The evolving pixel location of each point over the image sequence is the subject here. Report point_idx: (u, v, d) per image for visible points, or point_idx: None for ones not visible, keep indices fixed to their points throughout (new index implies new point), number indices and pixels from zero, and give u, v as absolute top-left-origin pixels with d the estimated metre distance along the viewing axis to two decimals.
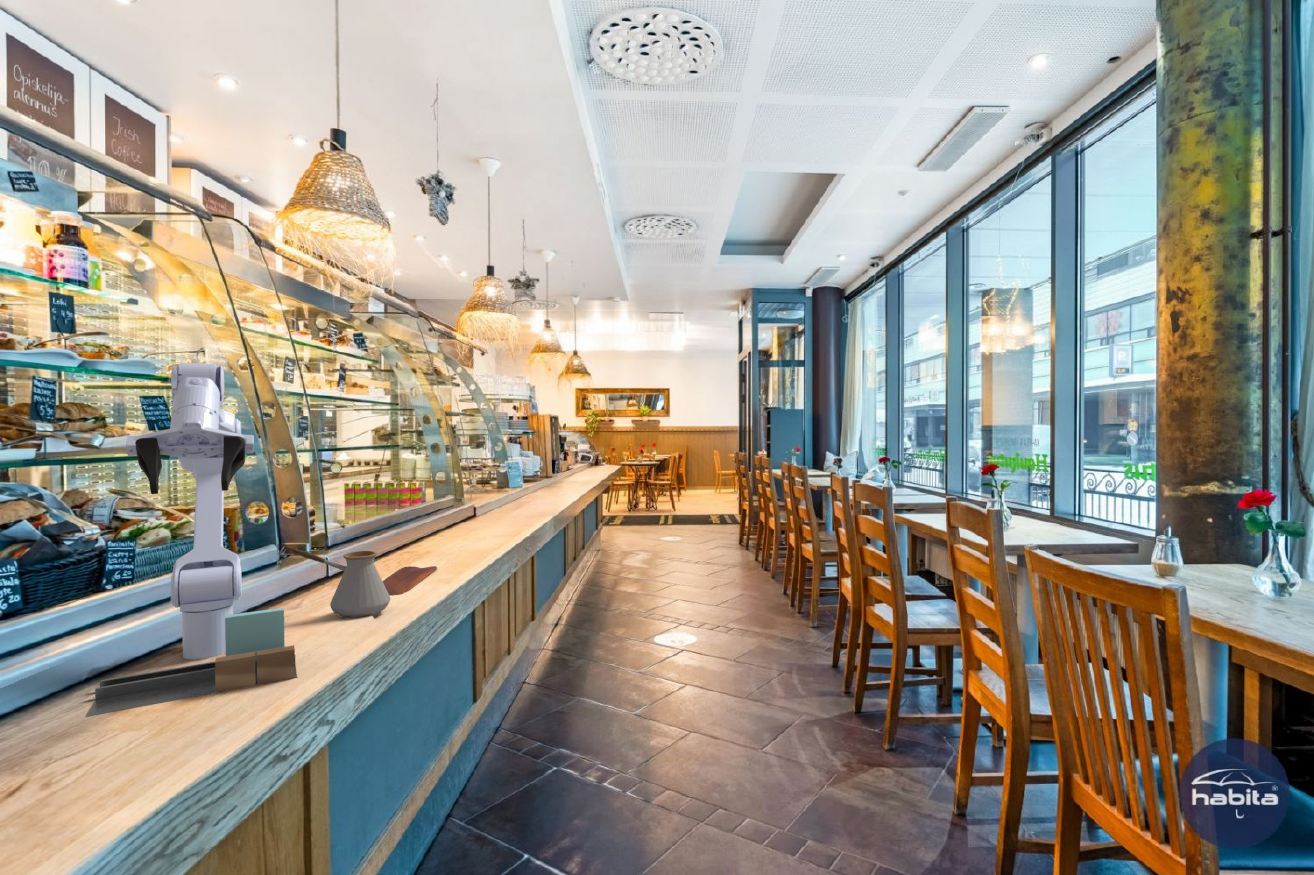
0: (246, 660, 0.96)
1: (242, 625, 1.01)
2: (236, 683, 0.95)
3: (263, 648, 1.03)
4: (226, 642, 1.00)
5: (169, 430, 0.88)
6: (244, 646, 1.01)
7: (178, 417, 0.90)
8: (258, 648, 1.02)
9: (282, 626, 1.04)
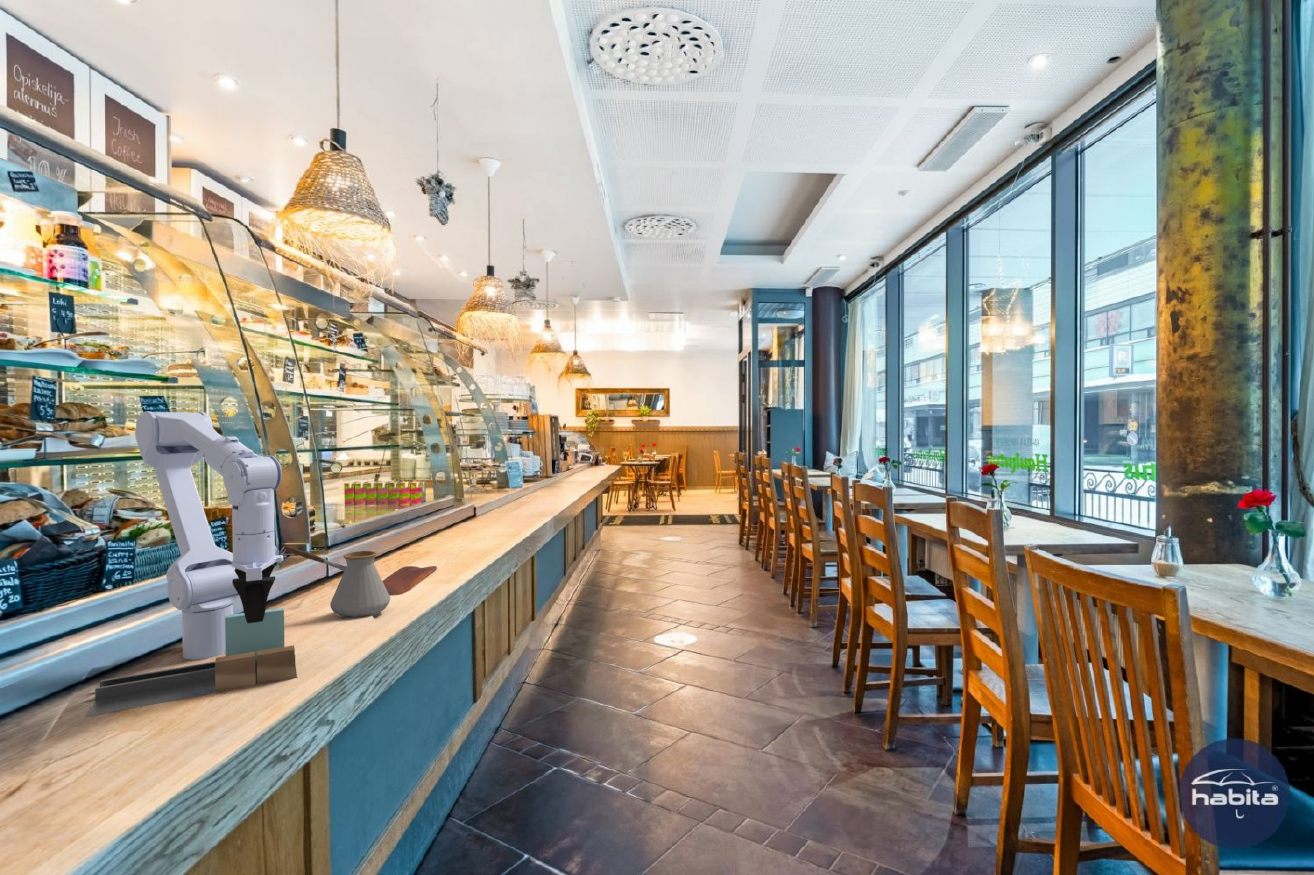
0: (246, 660, 0.96)
1: (242, 625, 1.01)
2: (236, 683, 0.95)
3: (263, 648, 1.03)
4: (226, 642, 1.00)
5: (271, 562, 1.01)
6: (244, 646, 1.01)
7: (270, 544, 1.02)
8: (258, 648, 1.02)
9: (282, 626, 1.04)
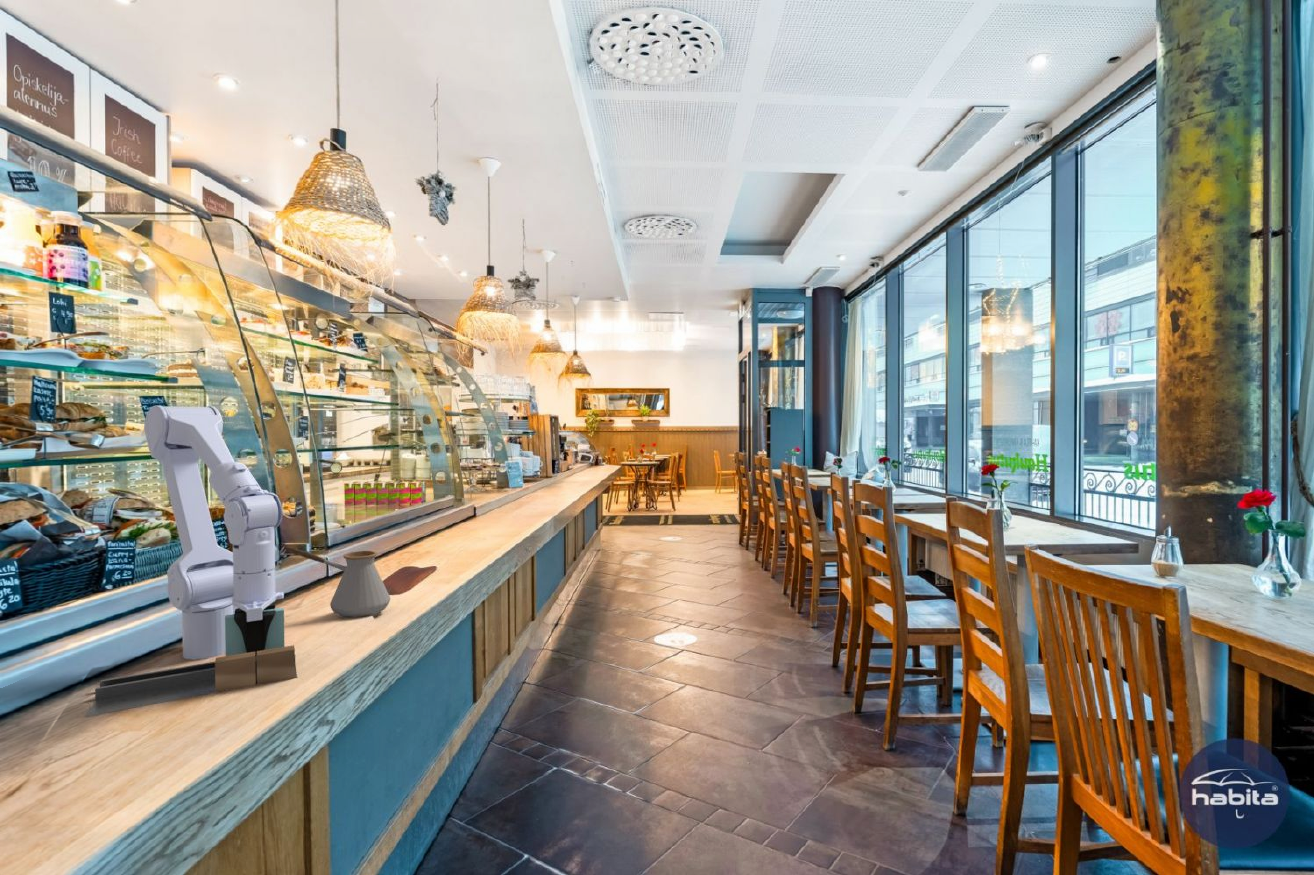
0: (246, 660, 0.96)
1: None
2: (236, 683, 0.95)
3: None
4: (226, 642, 1.00)
5: (271, 600, 1.02)
6: (244, 646, 1.01)
7: (271, 582, 1.02)
8: None
9: (282, 626, 1.04)
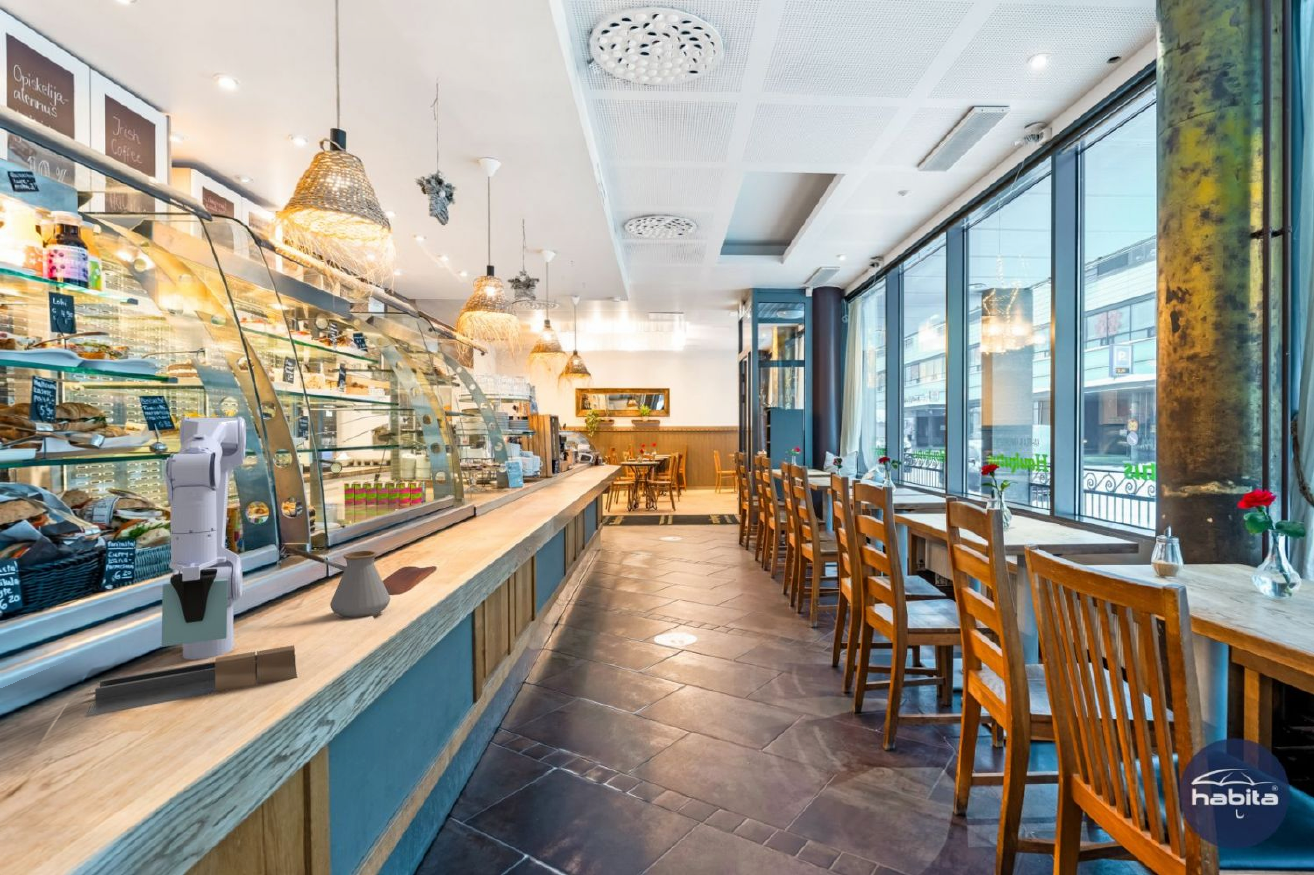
0: (246, 660, 0.96)
1: None
2: (236, 683, 0.95)
3: (203, 620, 0.97)
4: (163, 612, 0.95)
5: (211, 563, 0.97)
6: (183, 617, 0.96)
7: (211, 544, 0.97)
8: None
9: (225, 597, 0.99)
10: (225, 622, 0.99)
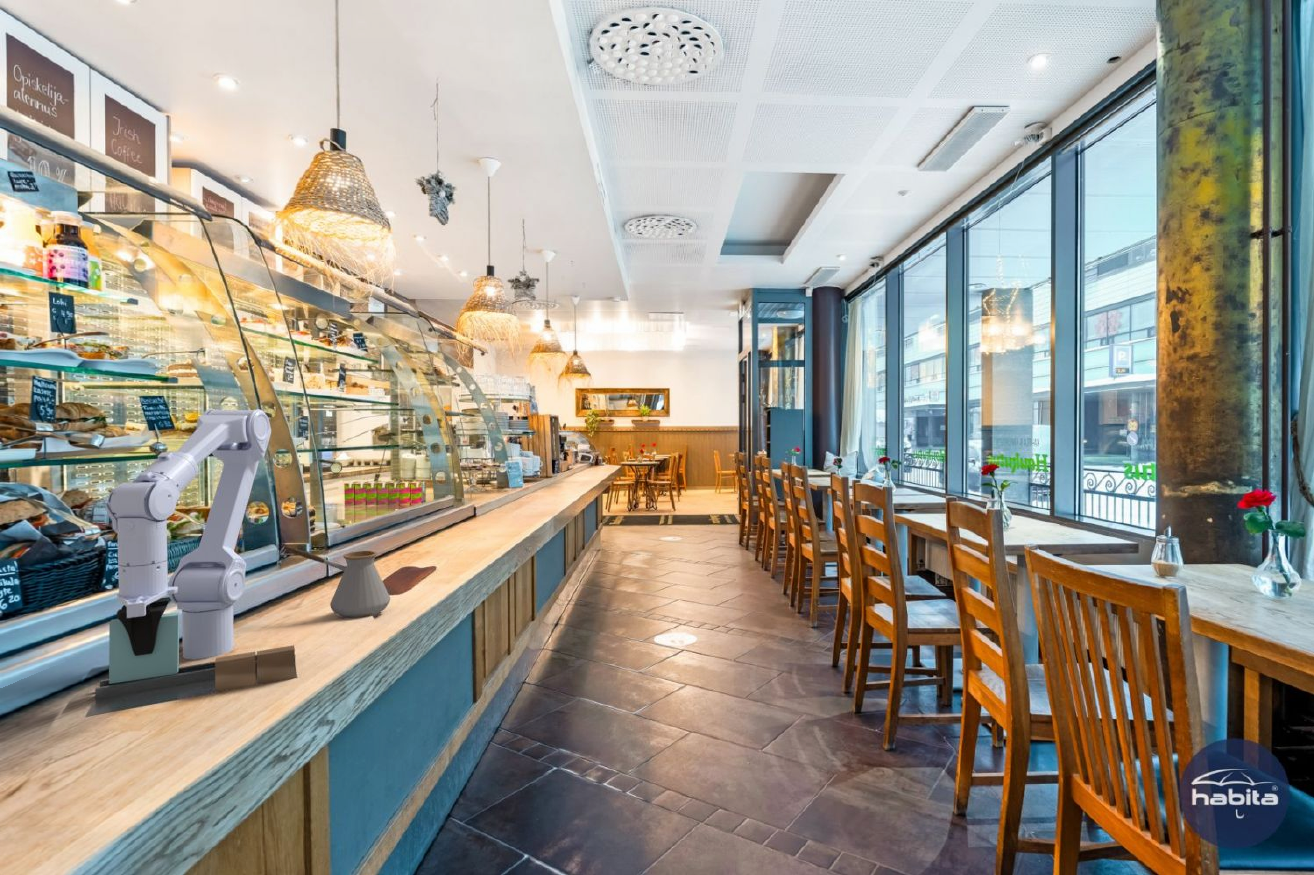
0: (246, 660, 0.96)
1: None
2: (236, 683, 0.95)
3: (153, 656, 0.95)
4: (110, 649, 0.93)
5: (160, 595, 0.94)
6: (131, 653, 0.94)
7: (161, 576, 0.95)
8: (147, 656, 0.95)
9: (175, 632, 0.97)
10: (176, 657, 0.97)
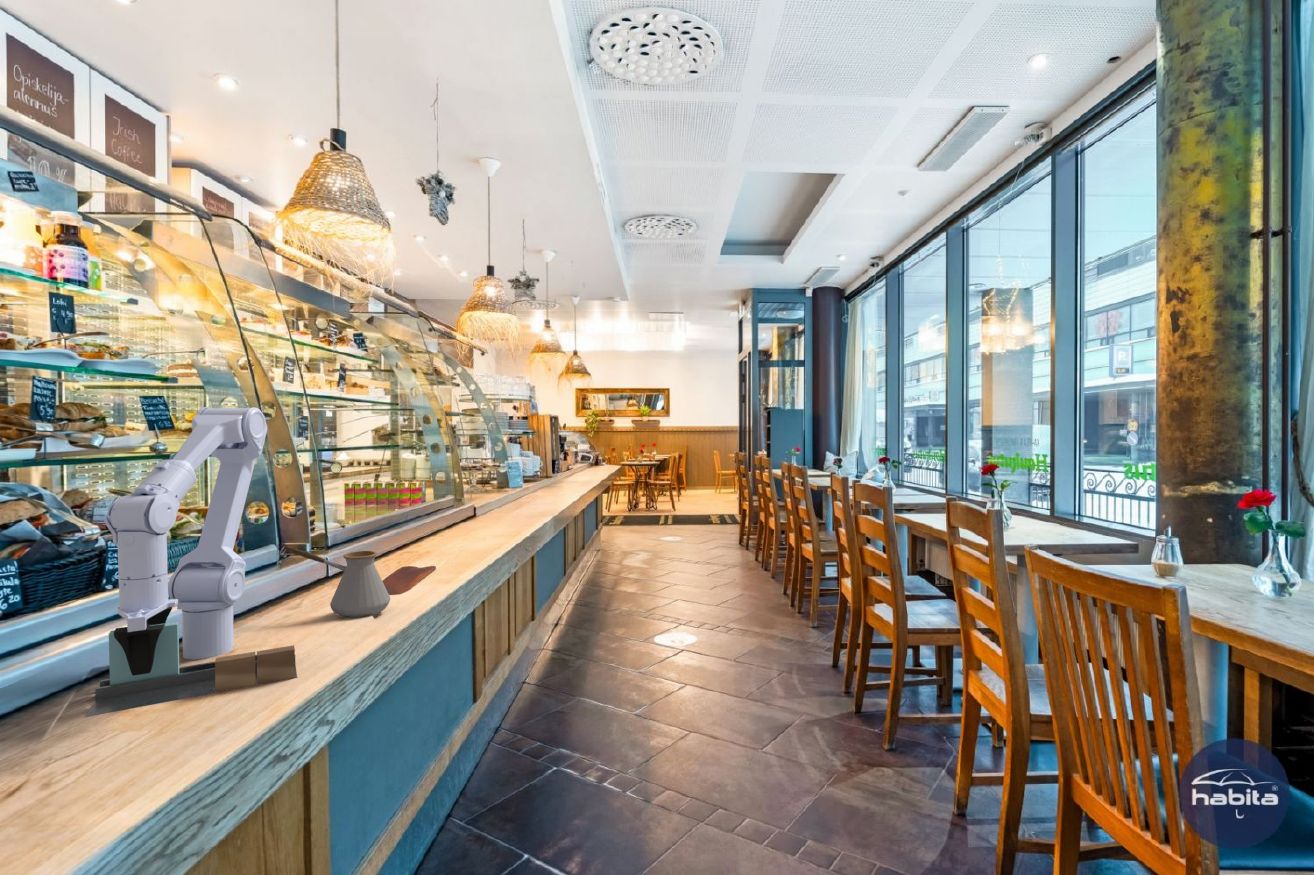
0: (246, 660, 0.96)
1: None
2: (236, 683, 0.95)
3: (153, 666, 0.95)
4: (110, 660, 0.93)
5: (161, 608, 0.94)
6: None
7: (161, 589, 0.95)
8: None
9: (175, 642, 0.97)
10: (176, 666, 0.97)
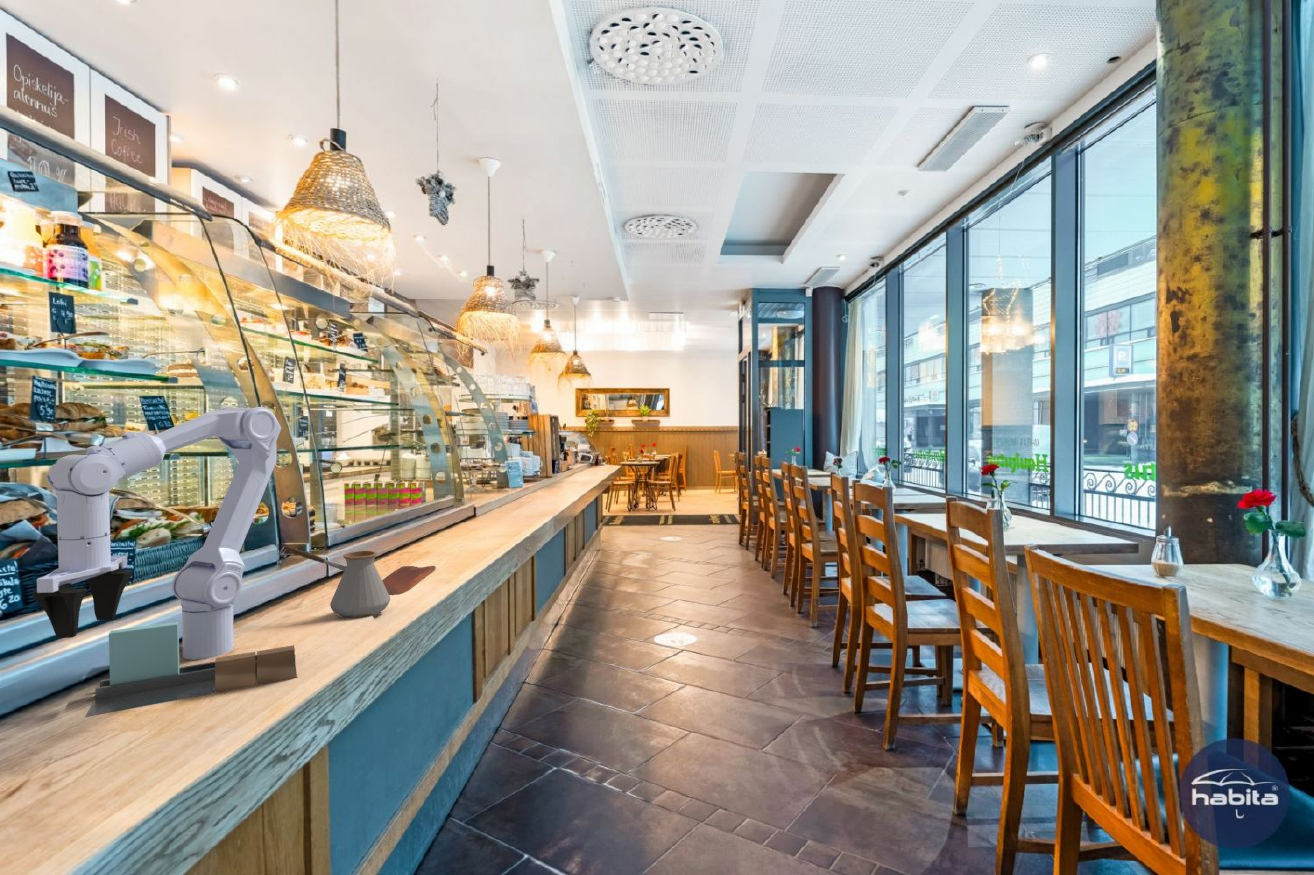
0: (246, 660, 0.96)
1: (129, 641, 0.94)
2: (236, 683, 0.95)
3: (153, 666, 0.95)
4: (110, 660, 0.93)
5: (89, 572, 0.91)
6: (131, 664, 0.94)
7: (93, 552, 0.92)
8: (147, 666, 0.95)
9: (175, 642, 0.97)
10: (176, 666, 0.97)
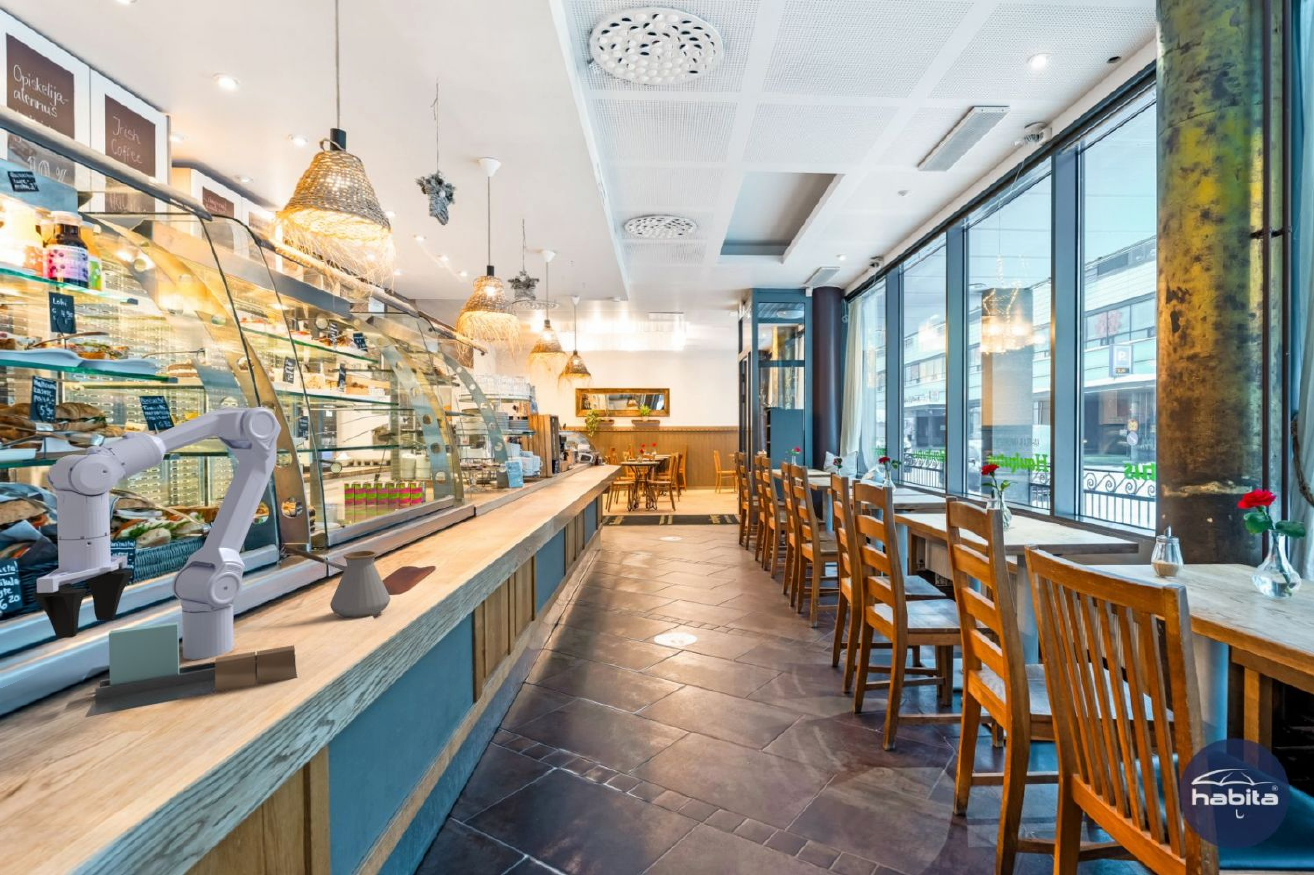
0: (246, 660, 0.96)
1: (129, 641, 0.94)
2: (236, 683, 0.95)
3: (153, 666, 0.95)
4: (110, 660, 0.93)
5: (89, 572, 0.91)
6: (131, 664, 0.94)
7: (93, 552, 0.92)
8: (147, 666, 0.95)
9: (175, 642, 0.97)
10: (176, 666, 0.97)
